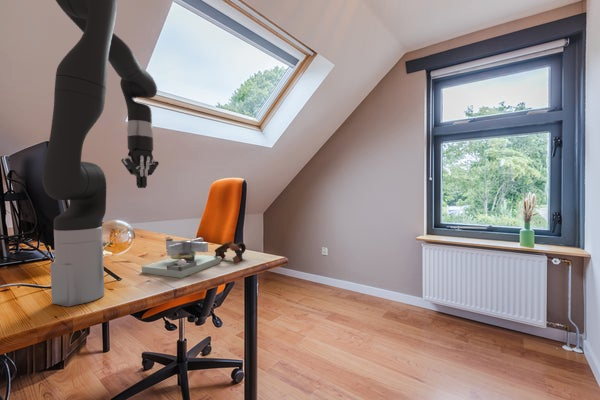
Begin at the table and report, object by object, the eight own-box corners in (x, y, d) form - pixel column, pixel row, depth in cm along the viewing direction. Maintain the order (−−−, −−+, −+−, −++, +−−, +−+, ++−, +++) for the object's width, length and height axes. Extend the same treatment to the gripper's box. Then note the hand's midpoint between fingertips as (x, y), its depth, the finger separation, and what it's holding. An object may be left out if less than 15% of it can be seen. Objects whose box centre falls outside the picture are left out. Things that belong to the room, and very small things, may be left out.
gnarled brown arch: (230, 267, 99) (218, 246, 99) (218, 273, 105) (207, 254, 106) (255, 252, 108) (244, 233, 108) (242, 259, 114) (232, 241, 115)
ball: (182, 268, 87) (182, 260, 87) (175, 268, 88) (175, 259, 88) (188, 266, 90) (188, 258, 90) (181, 265, 91) (181, 257, 91)
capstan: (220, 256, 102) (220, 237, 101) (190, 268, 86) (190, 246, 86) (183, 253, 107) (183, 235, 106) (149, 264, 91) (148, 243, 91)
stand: (181, 277, 85) (181, 266, 85) (141, 272, 90) (141, 262, 90) (220, 262, 103) (220, 253, 102) (185, 258, 108) (185, 249, 108)
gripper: (148, 140, 103) (150, 188, 103) (113, 133, 90) (115, 188, 91) (164, 138, 100) (165, 188, 101) (130, 131, 88) (132, 187, 88)
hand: (141, 187), depth 96 cm, fingers closed
